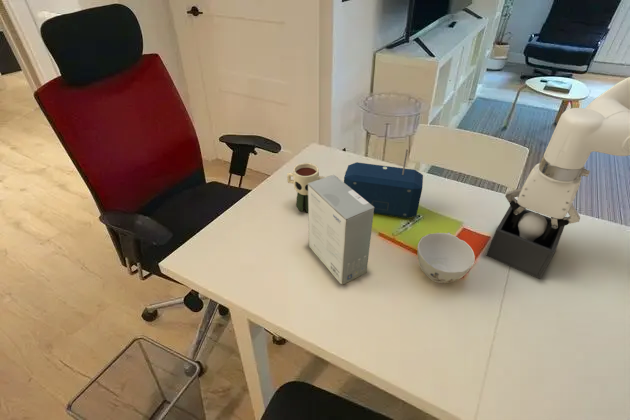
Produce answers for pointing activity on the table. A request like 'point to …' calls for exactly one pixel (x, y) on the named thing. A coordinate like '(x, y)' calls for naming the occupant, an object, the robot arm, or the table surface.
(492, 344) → the table surface
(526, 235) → the lightbulb
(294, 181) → the character mug
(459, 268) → the teacup
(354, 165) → the radio
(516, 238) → the bin
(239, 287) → the table surface
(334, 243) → the hard drive box
